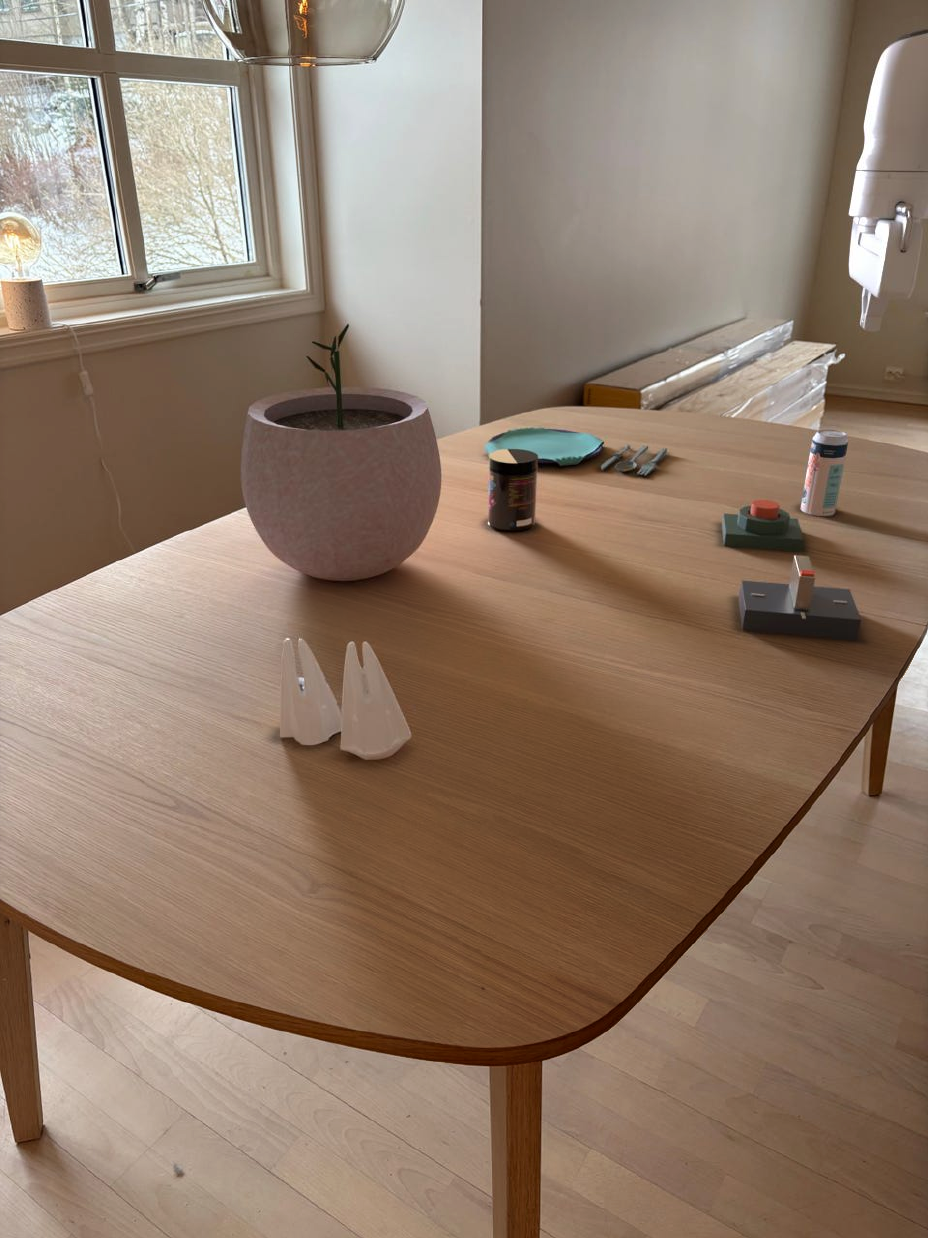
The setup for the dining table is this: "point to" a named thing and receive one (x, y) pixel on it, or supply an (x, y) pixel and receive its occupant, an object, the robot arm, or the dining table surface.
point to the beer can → (824, 472)
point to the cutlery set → (565, 447)
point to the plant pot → (341, 476)
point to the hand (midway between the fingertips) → (869, 329)
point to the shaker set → (366, 704)
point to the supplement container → (512, 490)
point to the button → (764, 509)
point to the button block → (762, 531)
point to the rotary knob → (801, 582)
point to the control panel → (798, 611)
